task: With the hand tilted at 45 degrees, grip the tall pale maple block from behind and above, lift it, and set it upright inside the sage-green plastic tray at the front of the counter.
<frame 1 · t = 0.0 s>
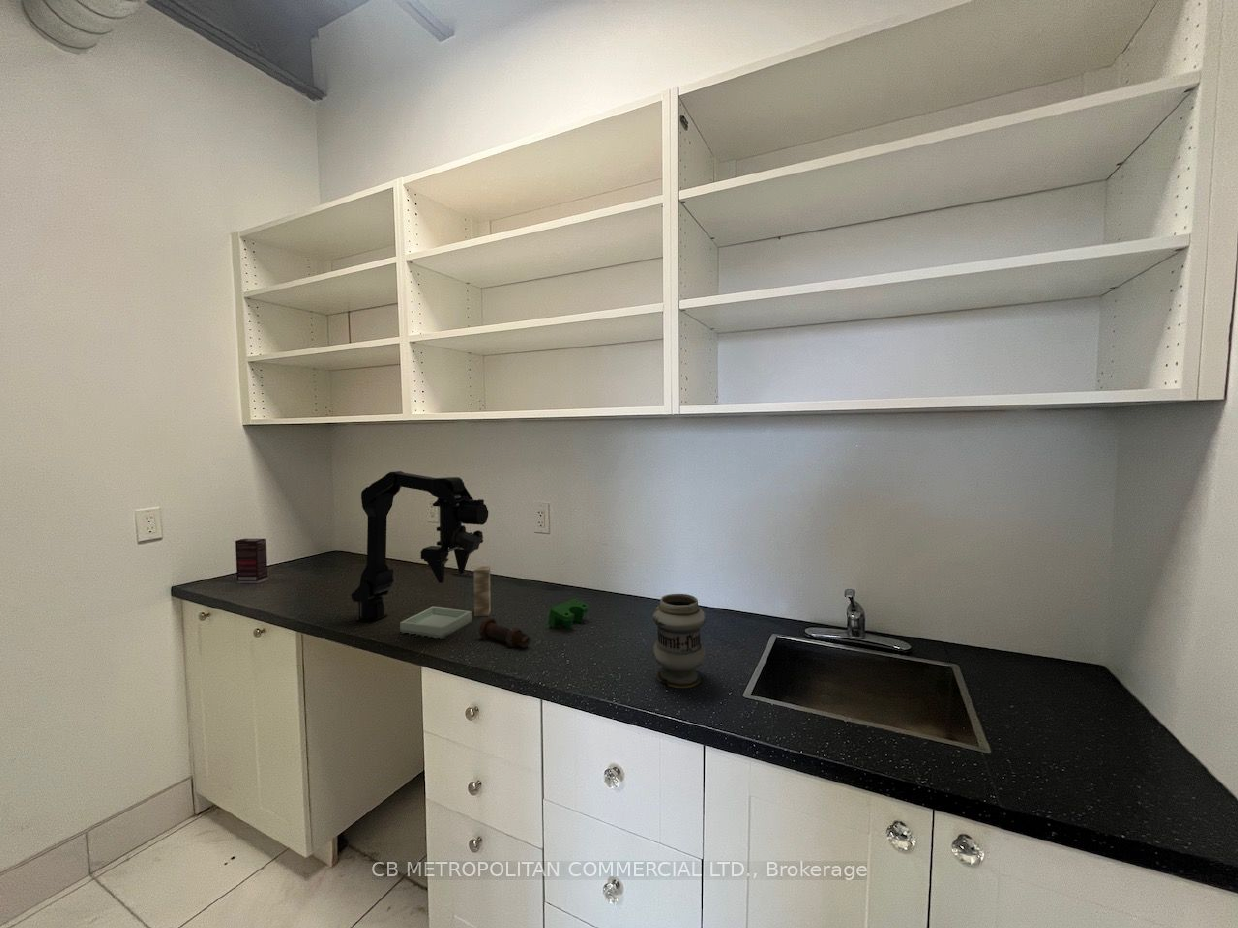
hand: (451, 578, 136), 15 cm above the worktop, tool pointing down, fingers open, 9 cm apart
clamp: (569, 625, 142), on the worktop
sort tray: (437, 626, 139), on the worktop
apothecary jar: (678, 678, 110), on the worktop
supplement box: (252, 581, 183), on the worktop
bolt: (505, 643, 129), on the worktop
maple block: (482, 613, 150), on the worktop
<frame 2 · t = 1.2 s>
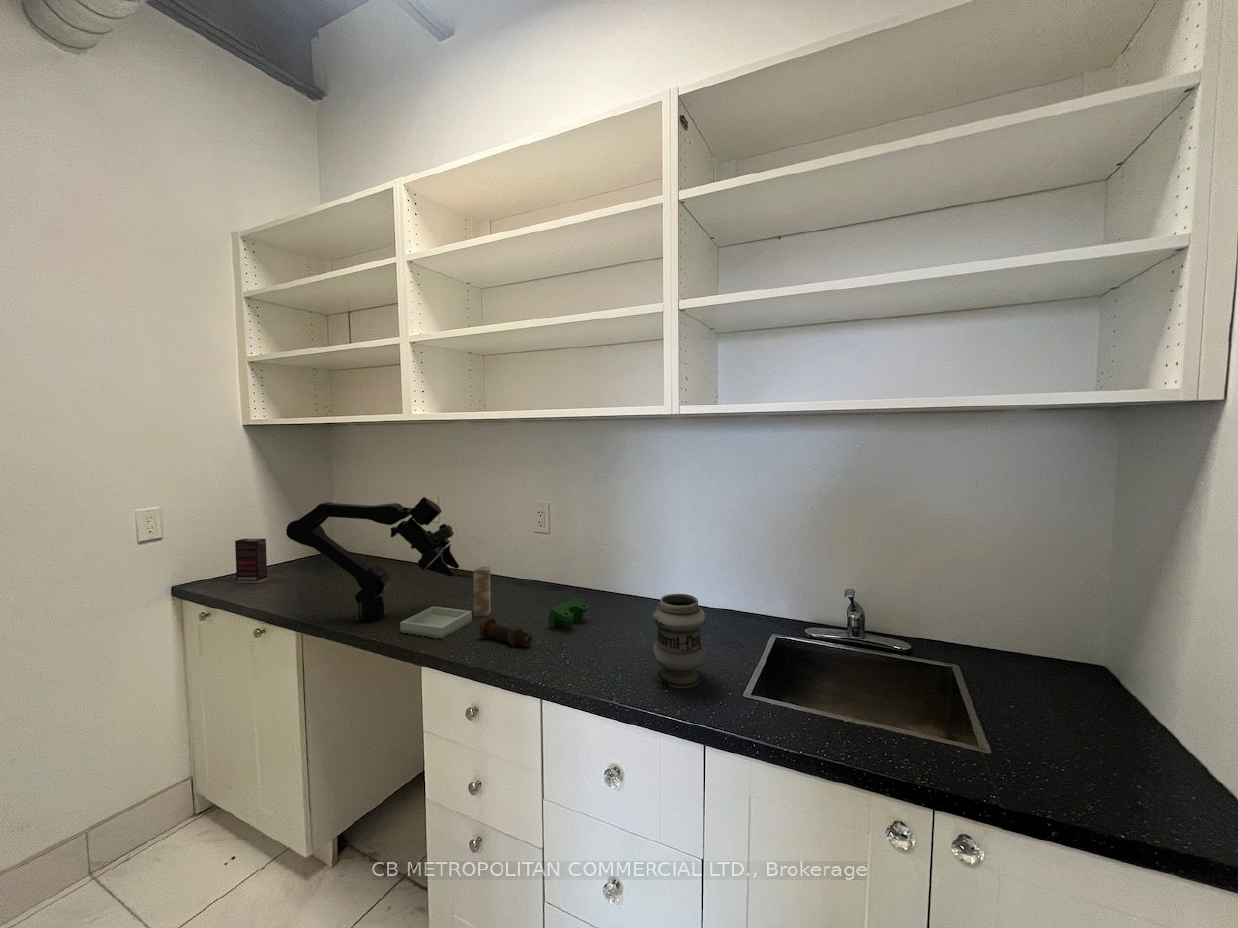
hand: (455, 571, 148), 13 cm above the worktop, tool tilted 45°, fingers open, 9 cm apart
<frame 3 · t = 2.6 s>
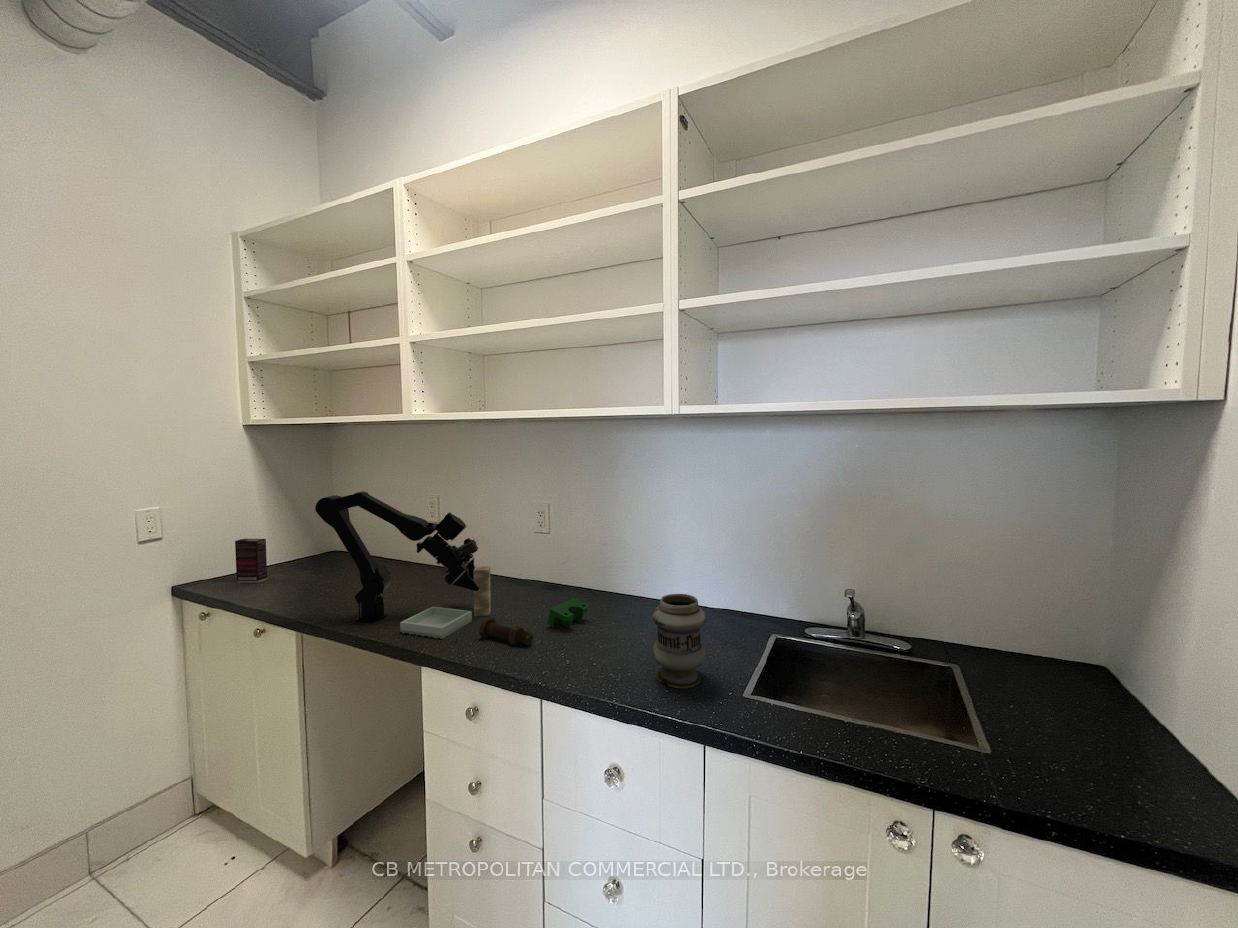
hand: (480, 585, 150), 9 cm above the worktop, tool tilted 45°, fingers open, 9 cm apart
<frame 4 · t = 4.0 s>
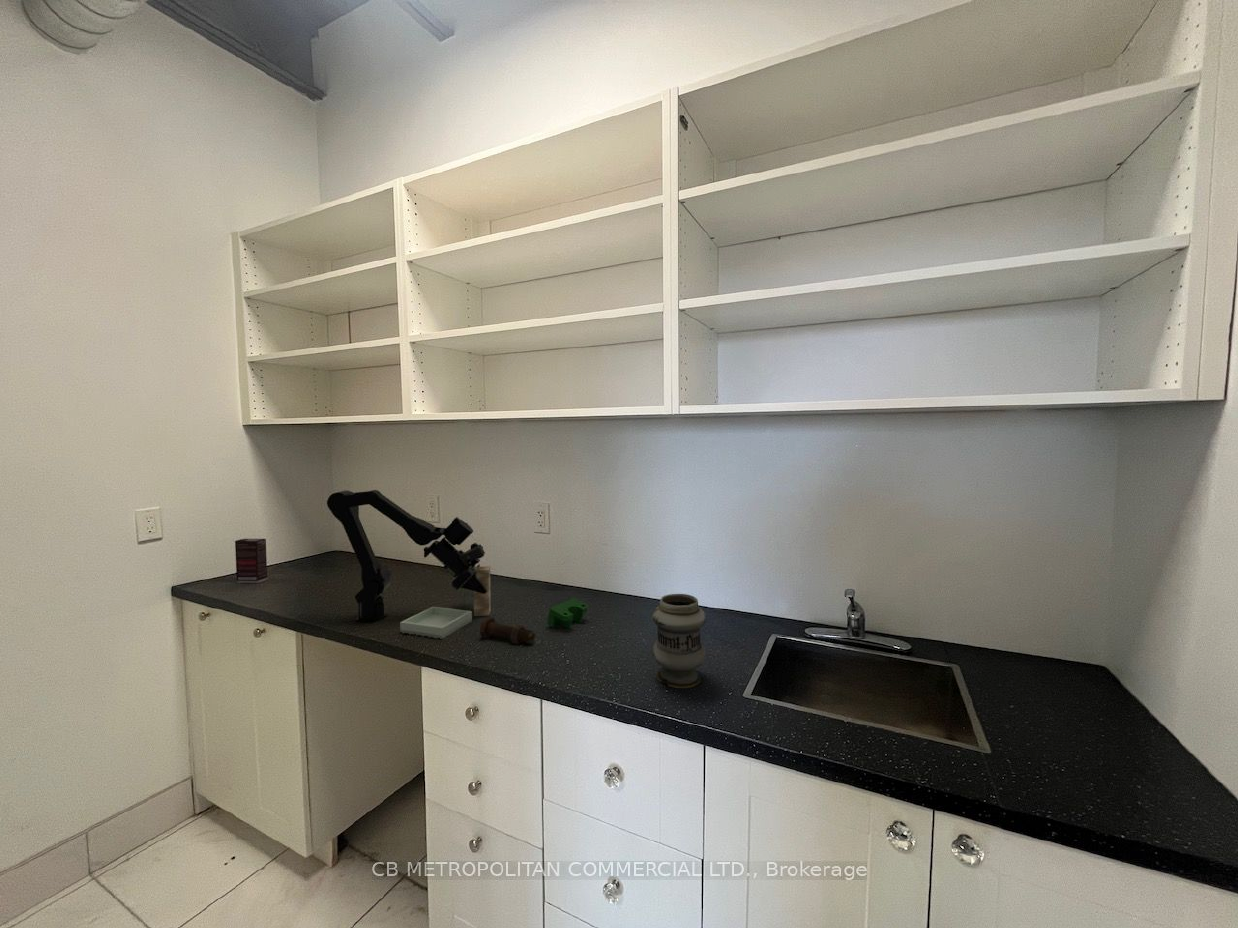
hand: (486, 590, 150), 7 cm above the worktop, tool tilted 45°, fingers closed on maple block, 4 cm apart
maple block: (482, 613, 150), on the worktop, touching gripper
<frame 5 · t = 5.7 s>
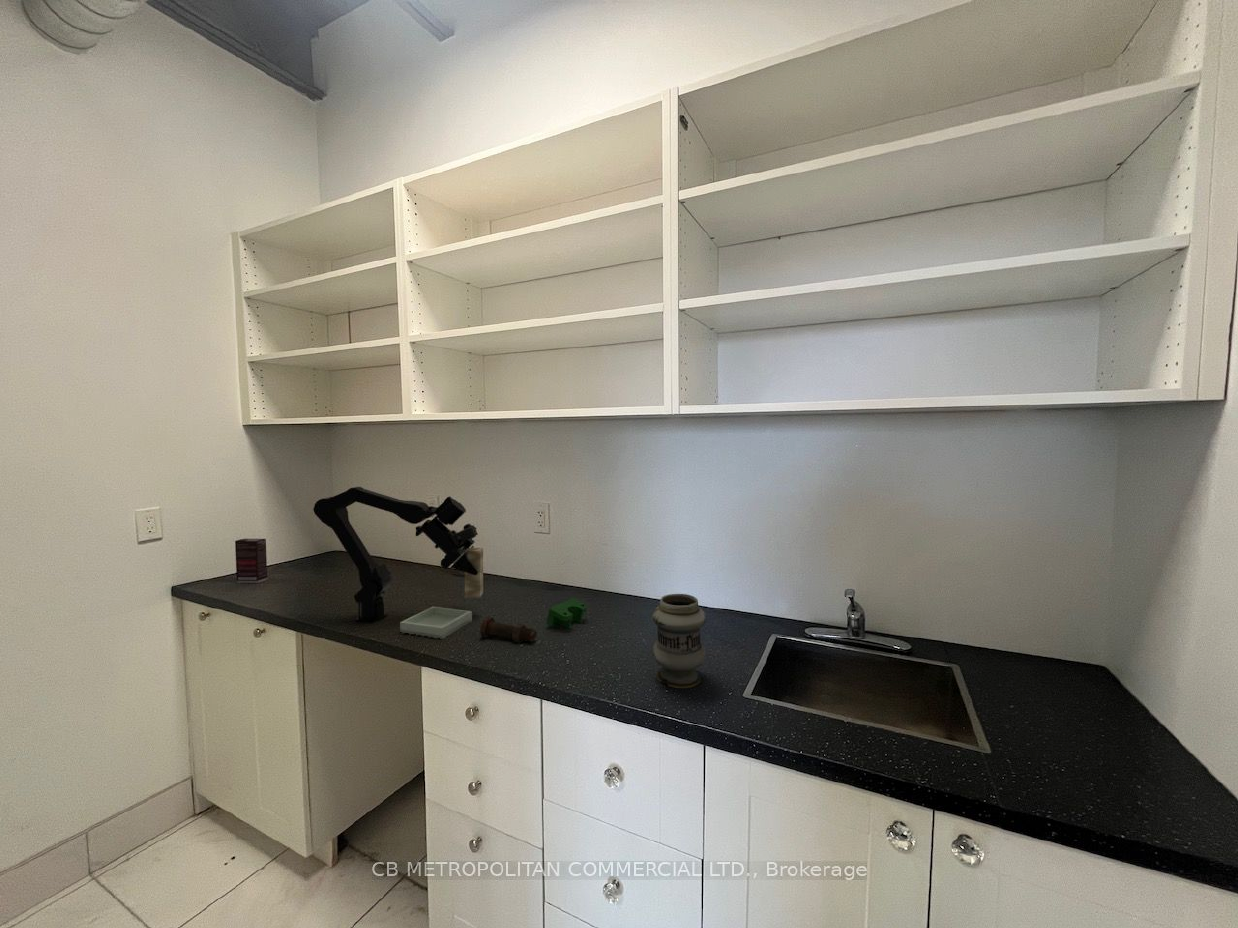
hand: (478, 572, 147), 14 cm above the worktop, tool tilted 45°, fingers closed on maple block, 4 cm apart
maple block: (474, 595, 147), point 6 cm above the worktop, touching gripper
when the fingers open (9 cm above the worktop, at t = 7.8 s): maple block drops 1 cm, resting on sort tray.
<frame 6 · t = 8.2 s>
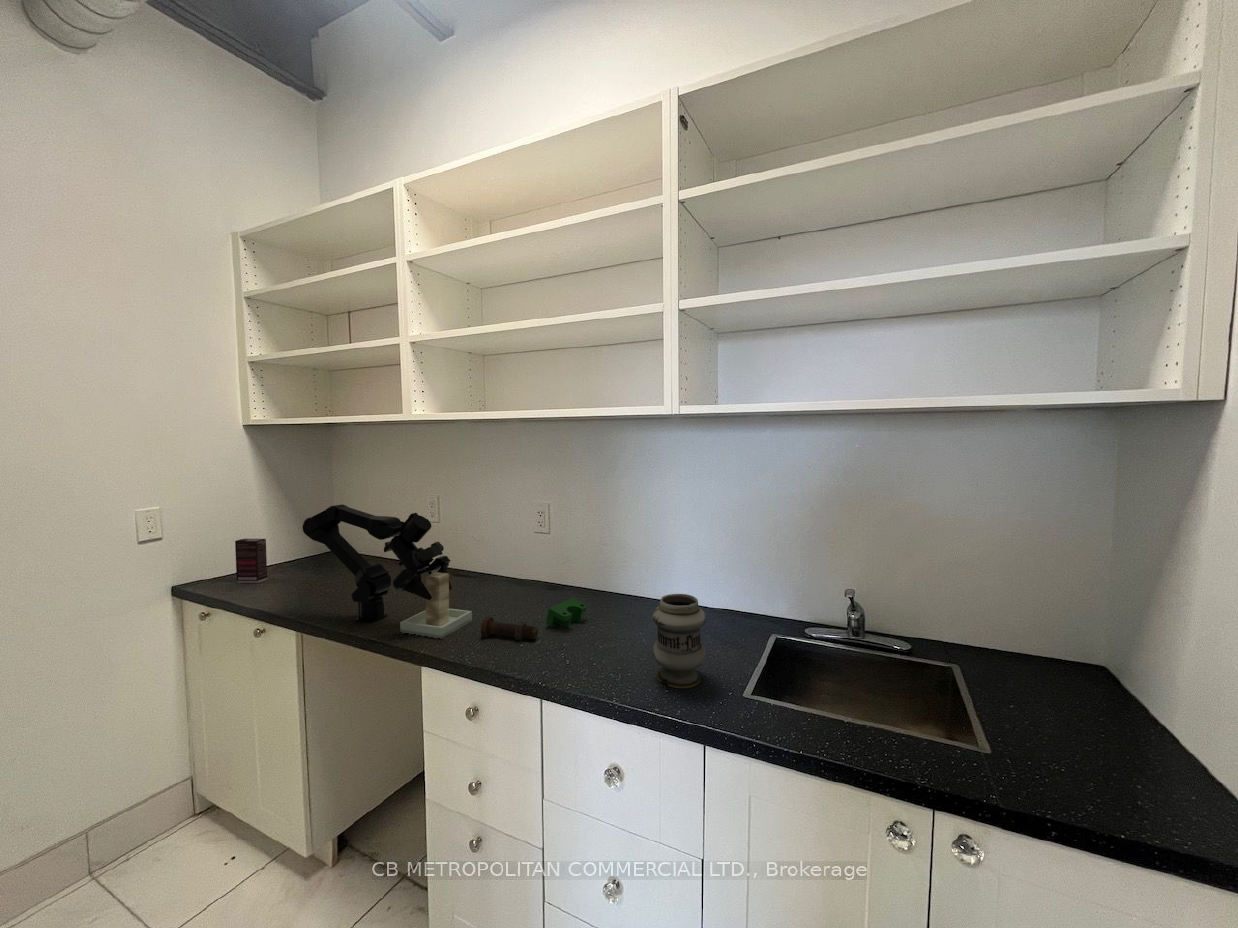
hand: (441, 594, 138), 10 cm above the worktop, tool tilted 45°, fingers open, 9 cm apart
maple block: (437, 623, 139), point 1 cm above the worktop, touching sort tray
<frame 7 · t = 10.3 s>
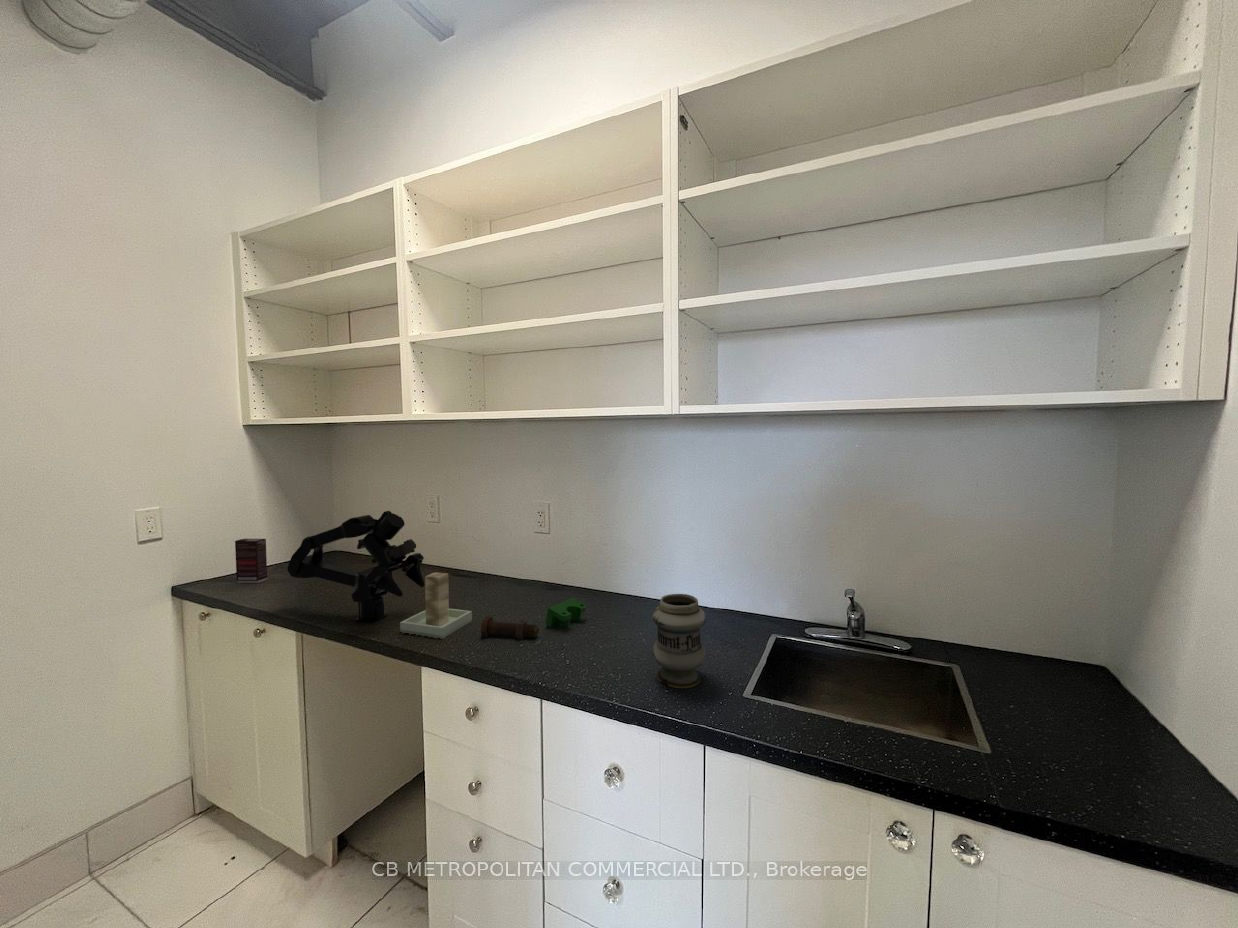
hand: (412, 590, 141), 10 cm above the worktop, tool tilted 45°, fingers open, 9 cm apart
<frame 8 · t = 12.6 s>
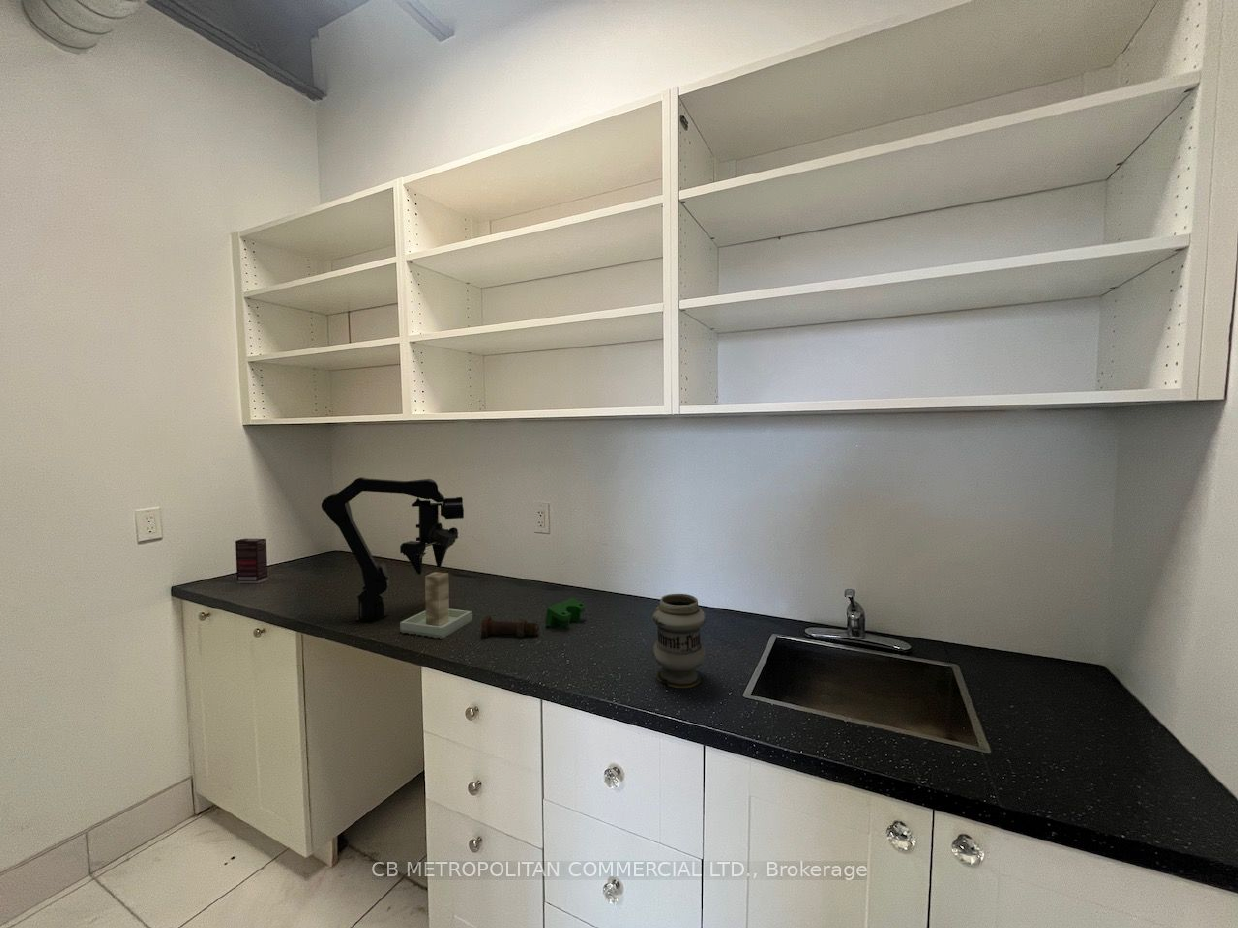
hand: (429, 570, 151), 13 cm above the worktop, tool pointing down, fingers open, 9 cm apart
at the end: maple block inside the target area on the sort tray (0.1 cm from its centre), point 1.0 cm above the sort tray's base; maple block tilted 0°; the gripper is holding nothing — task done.
